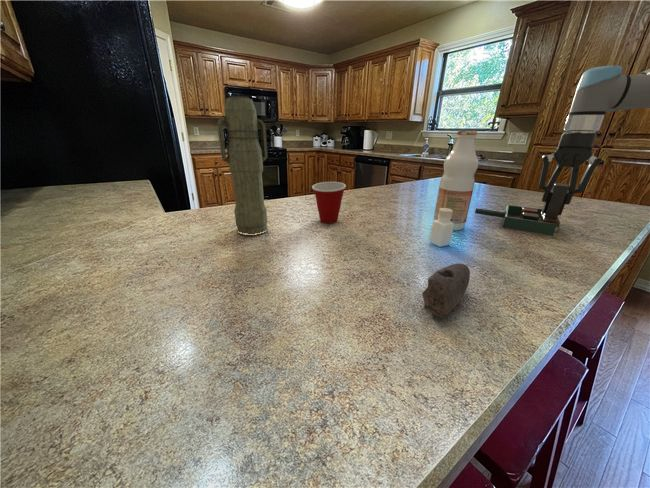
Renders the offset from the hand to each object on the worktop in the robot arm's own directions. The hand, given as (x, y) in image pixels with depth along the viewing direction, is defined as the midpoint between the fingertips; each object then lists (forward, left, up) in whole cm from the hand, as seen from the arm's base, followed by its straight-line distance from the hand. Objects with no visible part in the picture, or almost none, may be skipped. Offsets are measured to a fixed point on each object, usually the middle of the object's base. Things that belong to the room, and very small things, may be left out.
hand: (551, 213), depth 84 cm
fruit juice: (+26, +18, -5) cm, 32 cm away
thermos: (+73, +57, -5) cm, 93 cm away
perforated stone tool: (+18, +62, -5) cm, 65 cm away
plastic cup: (+60, +36, -5) cm, 70 cm away
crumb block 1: (+5, -3, -5) cm, 8 cm away
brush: (0, 0, -4) cm, 4 cm away
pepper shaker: (+25, +35, -5) cm, 43 cm away
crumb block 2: (+5, +4, -5) cm, 8 cm away
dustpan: (+10, 0, -5) cm, 11 cm away
